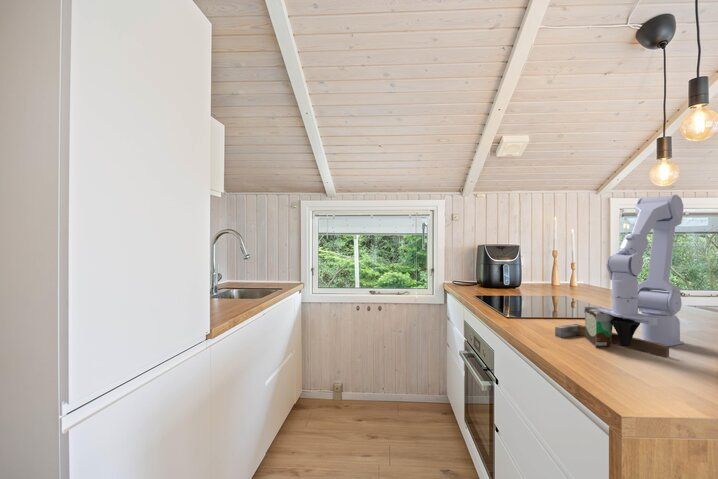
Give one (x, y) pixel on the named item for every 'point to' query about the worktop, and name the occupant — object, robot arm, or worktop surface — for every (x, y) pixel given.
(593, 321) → the food container
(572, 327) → the rail
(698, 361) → the worktop surface
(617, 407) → the worktop surface
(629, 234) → the robot arm
